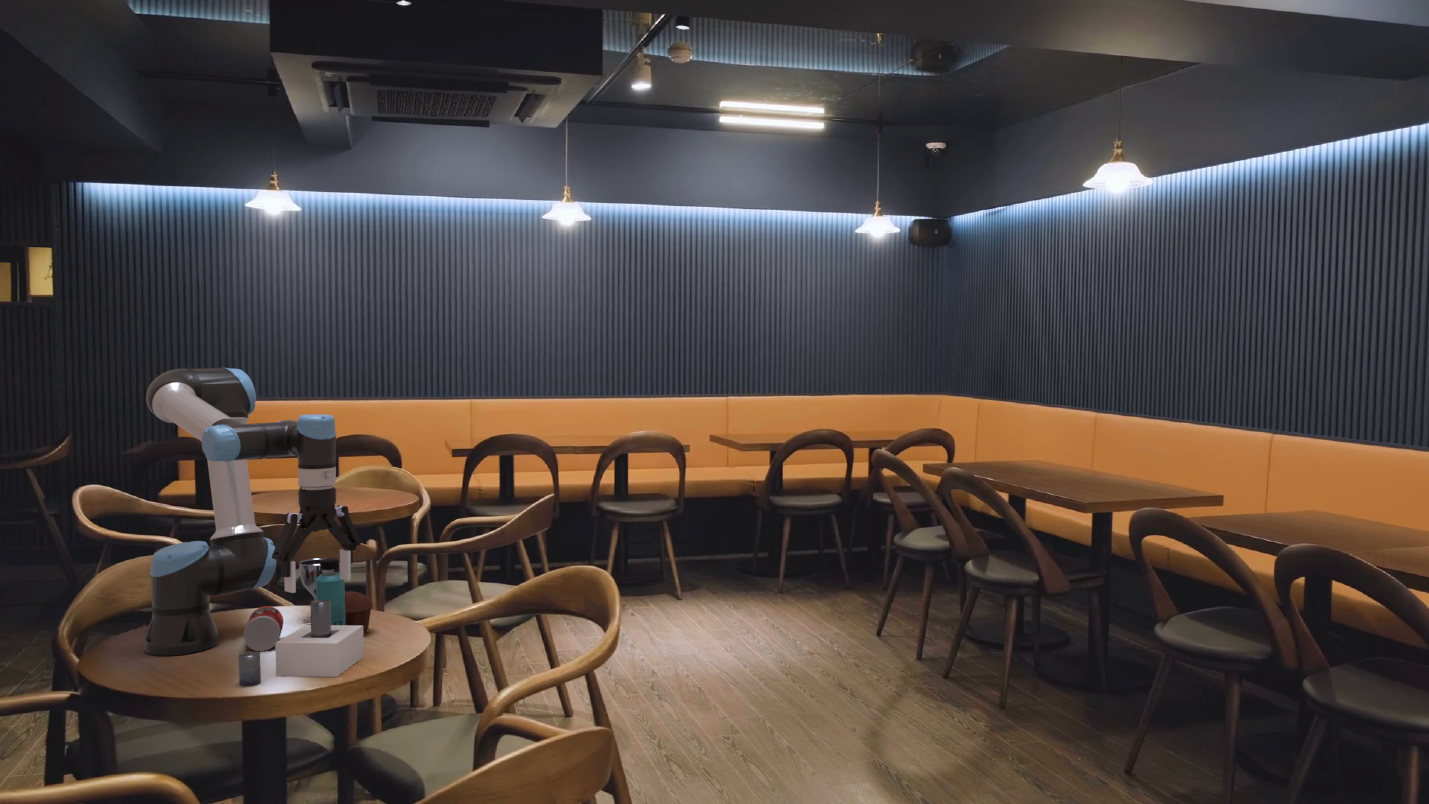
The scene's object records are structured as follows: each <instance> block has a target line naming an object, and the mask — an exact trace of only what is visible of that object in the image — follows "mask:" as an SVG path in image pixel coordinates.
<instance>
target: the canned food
mask: <svg viewBox="0 0 1429 804" xmlns="http://www.w3.org/2000/svg"><path fill="white" fill-rule="evenodd" d="M283 626H284V618H283V615H282V613H281V612H280V610H279V609H277V608H275V607H273V606H269V605H268V606H267V605H266V606H261V607H258V608H257V609H255V610H254V611H253V612H252V613H251V614H250V616H249V619H248V620H247V622H246V625H245V627H244V630H243V640H244V642H245V644H246V645H247V646H248V648H249V649H252V650H253V651H254V652H266V651H268V650H270V649H272V648H273V647H275V643H276V642H278V641H279V640H280V638H281V634H282V630H283Z"/></svg>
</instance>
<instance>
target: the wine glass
mask: <svg viewBox="0 0 1429 804" xmlns="http://www.w3.org/2000/svg"><path fill="white" fill-rule="evenodd" d="M323 559H328V558H327V557H326V558H325V557H324V558H310V559H304V560H302V561H299V563H298V564H299V565H298V567H299V575H300V580H301V583H302V586H303V587H304V588H305V589H306V590H307V591H308V592H309V593H310V594H311V595H312V597H313V599H314V600H317V595H316V579H317V578H318V577H319V576H320V575H321V574H323V573H328V572H334V570H321V569H320V564H321V560H323ZM302 623H303V624H305V623H311V617H309V618H306V619H304V620H303V621H302Z"/></svg>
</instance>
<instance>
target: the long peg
mask: <svg viewBox="0 0 1429 804" xmlns="http://www.w3.org/2000/svg"><path fill="white" fill-rule="evenodd" d="M310 618H311V624H310V625H311V638H329V637H331V601H330V600H326V599H321V600H315V599H314V600H312V601H310Z"/></svg>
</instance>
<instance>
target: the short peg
mask: <svg viewBox="0 0 1429 804" xmlns="http://www.w3.org/2000/svg"><path fill="white" fill-rule="evenodd" d="M261 679H262V677H261V652H260V651H248V652H242V653H240V654H238V685H240V687H242V688H243V687H244V688H248V687H254V686H258V685H260V684H261V682H262V680H261Z"/></svg>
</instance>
